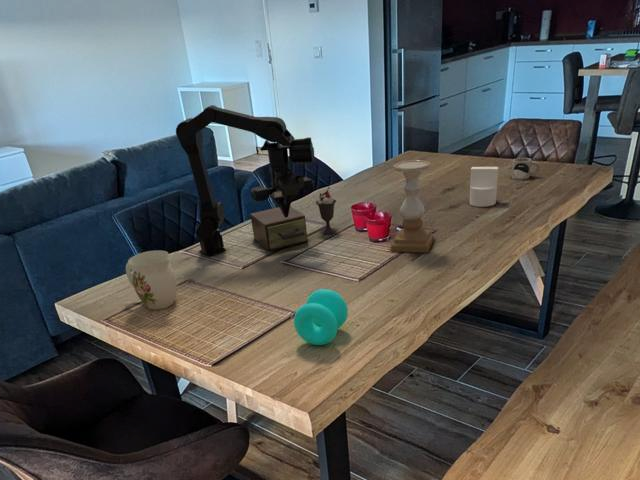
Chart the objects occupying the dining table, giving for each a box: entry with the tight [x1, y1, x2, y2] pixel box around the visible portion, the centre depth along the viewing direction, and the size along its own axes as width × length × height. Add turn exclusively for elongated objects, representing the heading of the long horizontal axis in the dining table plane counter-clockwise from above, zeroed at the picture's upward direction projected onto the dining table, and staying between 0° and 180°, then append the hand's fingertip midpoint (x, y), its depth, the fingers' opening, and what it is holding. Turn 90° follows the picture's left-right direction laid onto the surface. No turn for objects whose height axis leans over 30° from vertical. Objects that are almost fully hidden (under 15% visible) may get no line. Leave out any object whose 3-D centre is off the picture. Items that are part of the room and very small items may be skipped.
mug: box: [511, 157, 541, 181], centre depth 219 cm, size 10×7×7 cm, turn 73°
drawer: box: [267, 218, 308, 249], centre depth 180 cm, size 18×12×7 cm
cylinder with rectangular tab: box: [468, 166, 499, 208], centre depth 195 cm, size 9×9×12 cm
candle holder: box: [390, 159, 434, 253], centre depth 164 cm, size 11×11×24 cm
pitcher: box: [125, 249, 178, 310], centre depth 148 cm, size 11×18×14 cm, turn 59°
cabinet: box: [249, 206, 309, 252], centre depth 183 cm, size 14×14×9 cm
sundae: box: [315, 186, 337, 235], centre depth 184 cm, size 7×7×15 cm
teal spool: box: [293, 288, 349, 346], centre depth 125 cm, size 10×10×10 cm
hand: (286, 217), depth 173 cm, fingers closed
